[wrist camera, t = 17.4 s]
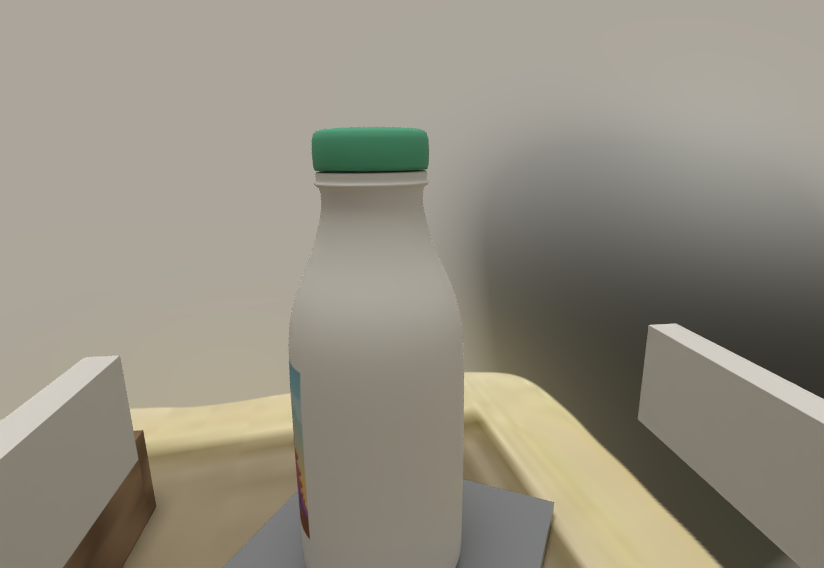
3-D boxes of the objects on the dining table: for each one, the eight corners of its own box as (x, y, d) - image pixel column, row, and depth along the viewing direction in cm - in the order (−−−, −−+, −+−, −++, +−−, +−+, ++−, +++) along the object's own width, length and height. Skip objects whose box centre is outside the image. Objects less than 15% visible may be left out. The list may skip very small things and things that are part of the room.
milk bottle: (487, 531, 25) (500, 128, 20) (405, 656, 19) (395, 118, 14) (369, 481, 29) (355, 134, 24) (269, 570, 23) (223, 128, 18)
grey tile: (166, 643, 21) (163, 627, 20) (340, 458, 33) (339, 448, 33) (492, 809, 15) (493, 790, 15) (553, 514, 28) (554, 502, 28)
